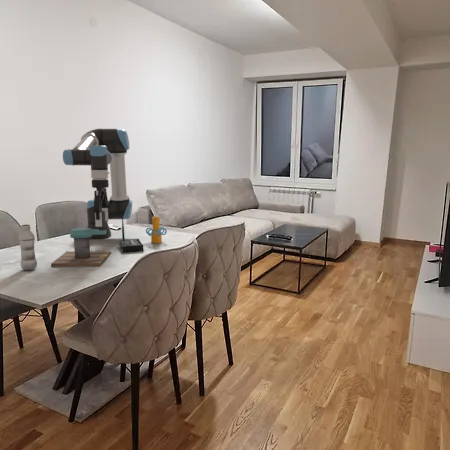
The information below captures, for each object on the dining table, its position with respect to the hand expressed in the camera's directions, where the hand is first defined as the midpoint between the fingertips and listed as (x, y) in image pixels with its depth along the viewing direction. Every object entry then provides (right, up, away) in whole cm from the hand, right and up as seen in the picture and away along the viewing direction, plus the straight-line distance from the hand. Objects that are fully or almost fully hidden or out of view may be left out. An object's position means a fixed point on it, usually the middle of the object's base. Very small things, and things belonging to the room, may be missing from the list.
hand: (102, 223), depth 186 cm
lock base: (-10, -17, +2) cm, 20 cm away
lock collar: (-7, -6, +1) cm, 9 cm away
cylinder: (+19, -11, +40) cm, 46 cm away
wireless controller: (+7, -14, +27) cm, 31 cm away
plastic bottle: (-28, -21, -14) cm, 37 cm away
